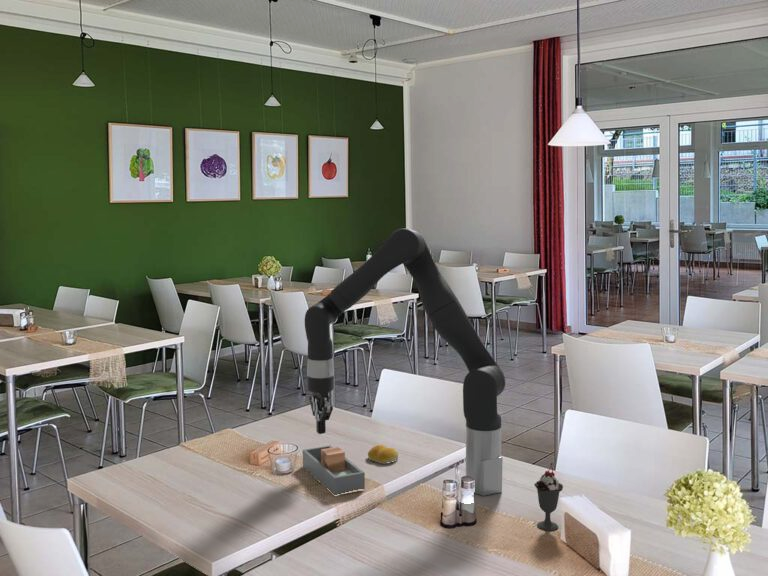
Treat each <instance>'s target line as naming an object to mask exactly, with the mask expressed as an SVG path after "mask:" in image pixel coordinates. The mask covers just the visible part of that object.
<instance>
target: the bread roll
mask: <svg viewBox="0 0 768 576" xmlns="http://www.w3.org/2000/svg"><path fill="white" fill-rule="evenodd" d="M367 456H368V459H369V460H370V461H371V460H372V461H371V462H373V461H375V462H374V463H377V462H379V463H378V464H380V463H387V462H392V461H395V460H397V461H398V459H399V453H398V451H397V450H396V449H395V448H390V447H388V446H385V445H382V444H376V445H374V446H373V447H372V448H370V449H369V450H368V452H367Z"/></svg>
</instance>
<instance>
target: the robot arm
mask: <svg viewBox="0 0 768 576" xmlns="http://www.w3.org/2000/svg"><path fill="white" fill-rule="evenodd" d="M402 264H403V265H404V267H405V268H406V270H407V271H408V273H409V274H410V276H411V277H412V279H413V281H414V282H415V284H416V287H417V288H416V289H417V290H418V294H419V298H420V301H421V304H422V307H423V309H424V311H425V314H426V316H427V317H428V319H429V321H430V322H431V325H432V326H433V327H434V330H435V331H436V333H437V334H438V335H439V336H440V337H441V339H442V340H444V341H445V342H446V343H447V344H448V345H449V346H450V347H451V348H453V349H454V351H456V352H457V353H458V355H459V357H460V358H461V359H462V361H463V362H464V365H465V366H466V368H467V370H468V373H467V374H466V375H465V377H464V380H463V382H462V383H463V384H462V406H463V407H462V408H463V409H462V410H463V415H464V419H465V477H466V476H471V477H473V478H474V480H475V493H474V494H477V495H480V496H483V497H484V496H490V495H494V494H497V493H498V494H499V493H502V492H503V457H502V456H501V455H502V417H501V415H500V414H499V413H498V396H500V395H501V394H502V393H503V391H504V390H505V388H506V377H505V374H504V372H503V370H502V369H501V368H500V366H499V365H498V363H497V362H496V360H495V359H494V358H493V356H492V355H491V353H490V351H488V349H487V348H486V346H485V345H484V343H483V341H482V340H481V338H480V336H479V334H478V333H477V331H476V329H475V328H474V326H473V324H472V322H471V321H470V319H469V317H468V315H467V313H466V310H464V308H463V306H462V304H461V302H460V301H459V299H458V297H457V296H456V294H455V293H454V291H453V290H452V289H453V288H451V286H450V285H449V283H448V282H447V280H446V279H445V277H444V276H443V275H442V273H441V271H440V270H439V269H438V267H437V264H436V262H435V260H434V258H433V257H432V253H431V252H430V249H429V247H428V244H427V242H426V240H425V238H424V237H423V235H422V234H421V233H420V232H418V231H416V230H414V229H410V228H406V227H405V228H404V227H403V228H398V229H396V230H395V231H393V232H392V233H391V234H390V235H389V237H387V239H386V240H385V241H384V242H383V244H382V245H381V246H380V247H379V248H378V250H376V251H375V252H374V254H373V255H371V256H370V257H369V258H368V260H366V261H365V262H364V263H363V264H362V265H360V267H358V268H357V269H356V270H354V271H353V272H352V273H351V274H349V275H348V276H347V277H346V278H345V279H343V280H342V281H341V282H340V283H338V285H336V286H335V287H333V289H332V290H331V291H330V293H328V294H327V295H326V296H325V297H323V298H322V299H321V300H319V301H318V302H317V303H315V304H314V305H312V306H310V307H308V309H307V310H306V312H305V314H304V330H305V337H306V340H307V363H306V380H307V381H306V384H307V386H306V388H307V389H306V390H307V391H308V392H311V393H312V396H309V397H308V399H309V404H310V408H311V411H312V416H313V417H314V419H315V420H316V421H315V423H316V424H315V425H316V428H315V429H316V430H315V431H316V433H317V434H319V435H322V434H325V433H326V431H327V430H326V428H327V426H326V421H329V420H330V418H331V415H332V412H333V409H334V407H333V405H330V400H331V399H330V397H329V396H330V395H329V393H330V392H332V391H334V389H335V371H334V369H335V367H334V366H335V365H334V358H333V357H334V356H333V355H334V348H333V347H334V345H333V344H334V343H333V341H332V338H330V325H331V324H333V323H334V322H335V321H336V320H337V319H338V318H339V317H340V316H341V315H342V314H343V313H345V311H347V310H349V309H351V308H352V307H353V306H355V305H356V304H358V302H359V301H361V299H363V298H364V297H365V296H366V295H368V293H370V291H371V290H372V289H373V288H374V287H375V286H376V285H377V283H378V282H379V281H380V280H381V279H382V278H383V277H384V276H386V275H387V274H388V273H389V272H391V271H392V270H394V269H396V268H397V267H399V266H400V265H402Z"/></svg>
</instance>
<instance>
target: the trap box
mask: <svg viewBox="0 0 768 576" xmlns="http://www.w3.org/2000/svg"><path fill="white" fill-rule="evenodd" d="M327 448H333V446H332V445H330V444H329V445H325V446H324V445H323V446H317V447H312V448H307V449H302V468H304V469H305V470H306V469H307V470H308V471H309V472H310V473H311V474H312V475H313V476H314V477H313V476H312V475H311V474H310V473H309V472H308V471H307V470H306V471H307V472H308V473H309V474H310V475H311V476H312V477H313V478H315V477H316V478H315V480H317V479H318V480H319V481H320V482H321V483H322V484H323V485H324V486H325V487H326V488H328V489H329V490H330V491H331V492H332V493H333V494H334V495H337V494H341V493H345V492H349V491H353V490H358V489H365V490H366V486H365V482H366V481H365V480H366V479H365V478H366V475H365V471H364V470H362V469H361V468H360V467H358V466H357V465H356V464H355V463H353V462H352V461H351V460H349V459H348V458H347V457H346V456H345V470H341V471H335V472H330V471H329V470H328V469H327V468H326V467H325V466H324V465H322V464H321V449H327ZM318 480H317V481H318ZM319 481H318V482H319ZM320 482H319V483H320ZM321 483H320V484H321ZM322 484H321V485H322ZM323 485H322V486H323ZM324 486H323V487H324ZM325 487H324V488H325ZM326 488H325V489H326ZM332 493H331V494H332ZM333 494H332V495H333ZM334 495H333V496H334Z"/></svg>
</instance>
